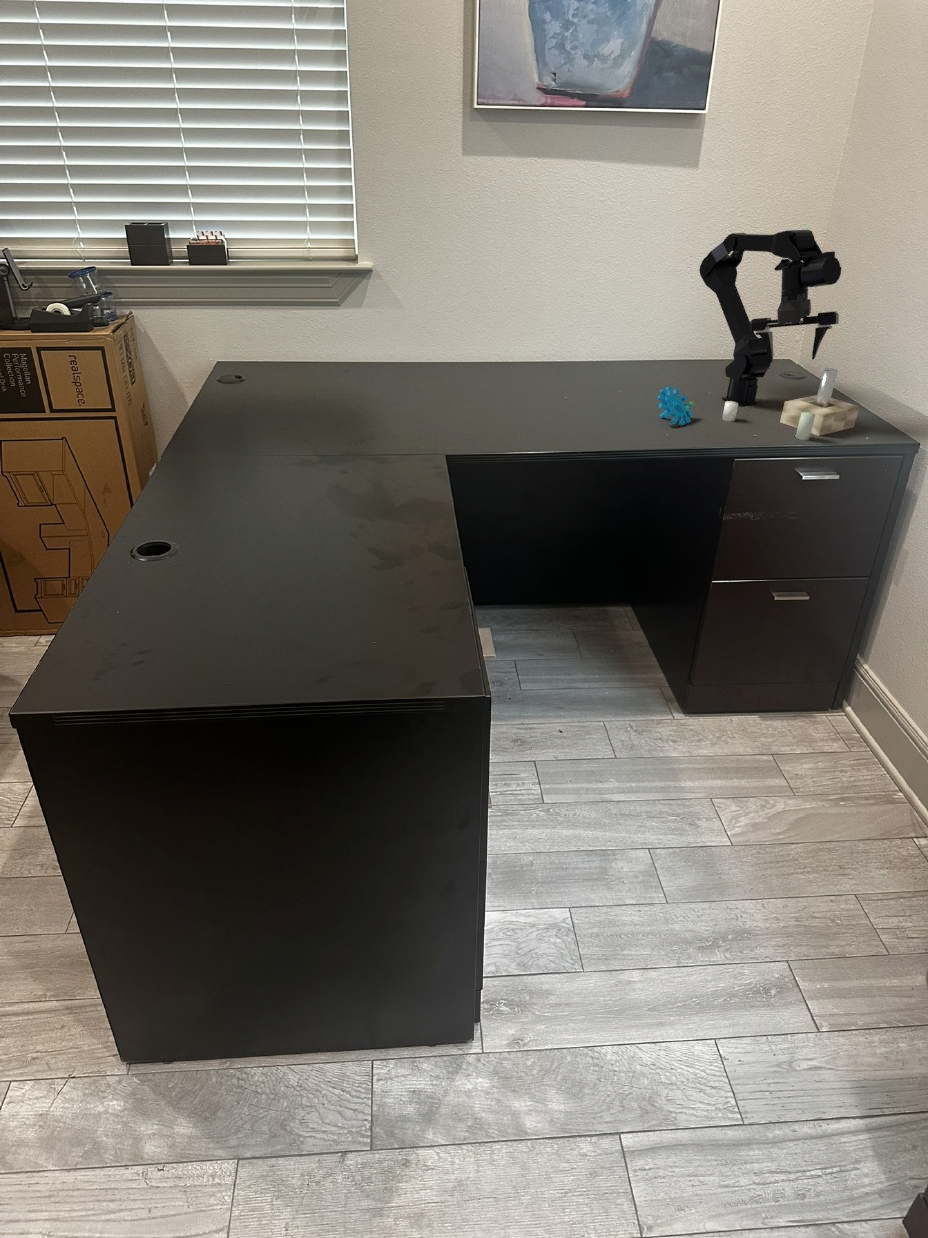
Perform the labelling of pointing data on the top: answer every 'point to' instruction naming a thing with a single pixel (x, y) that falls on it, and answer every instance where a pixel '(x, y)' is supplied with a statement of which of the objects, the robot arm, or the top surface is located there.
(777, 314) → the robot arm
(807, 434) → the mid pin
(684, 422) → the blue spiky toy
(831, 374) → the long pin
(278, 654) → the top surface
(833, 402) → the hole block
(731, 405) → the short pin
